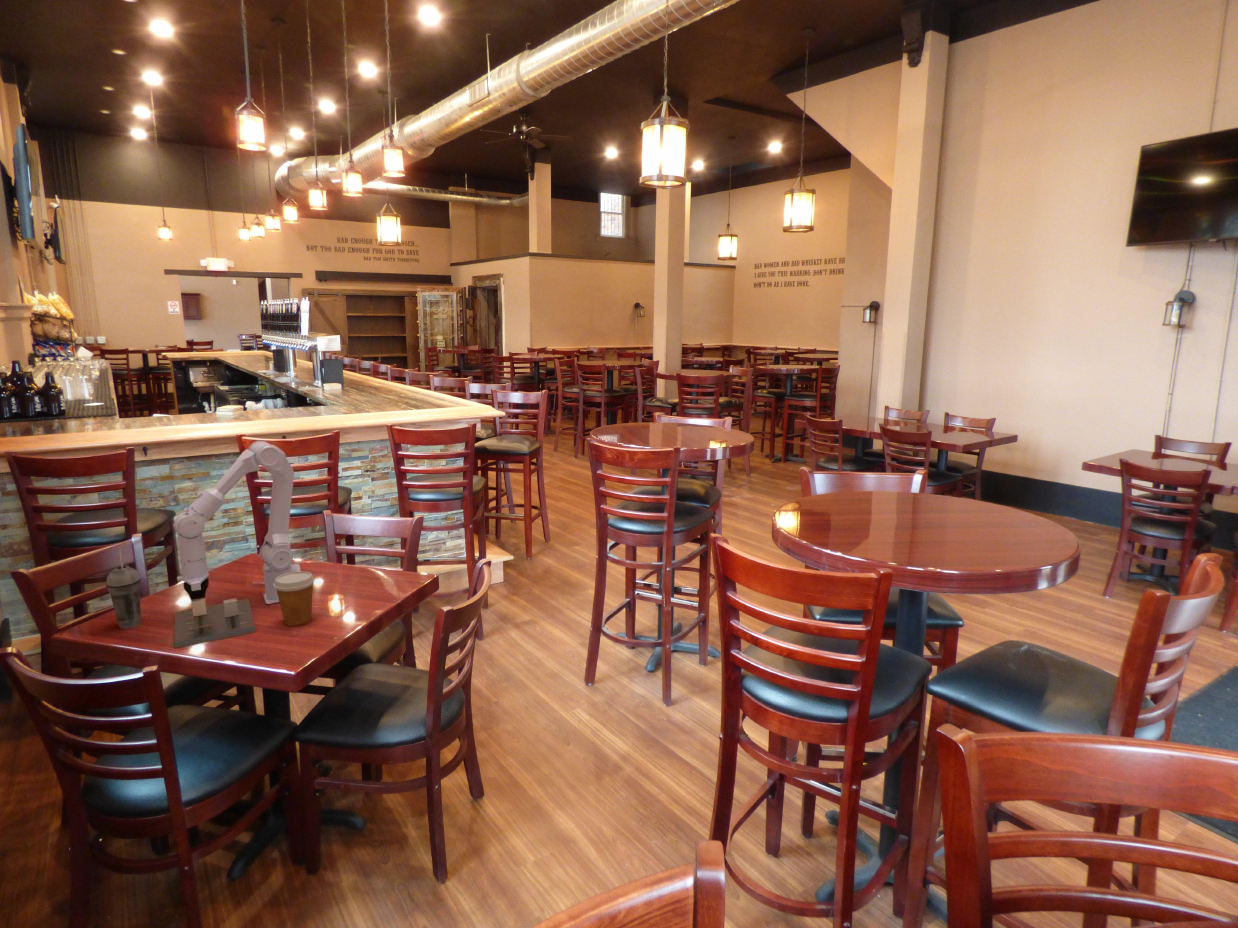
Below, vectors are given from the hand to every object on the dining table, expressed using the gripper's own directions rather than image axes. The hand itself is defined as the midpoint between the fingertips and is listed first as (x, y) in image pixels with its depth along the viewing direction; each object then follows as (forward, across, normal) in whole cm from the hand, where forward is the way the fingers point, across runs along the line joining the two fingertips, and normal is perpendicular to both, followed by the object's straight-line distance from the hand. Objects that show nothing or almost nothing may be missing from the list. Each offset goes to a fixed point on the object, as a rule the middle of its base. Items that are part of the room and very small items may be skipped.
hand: (199, 607), depth 184 cm
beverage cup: (+3, -3, -16) cm, 16 cm away
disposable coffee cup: (+3, +17, +22) cm, 27 cm away
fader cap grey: (+1, +8, +7) cm, 10 cm away
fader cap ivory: (+1, +3, 0) cm, 3 cm away
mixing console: (+2, +8, +3) cm, 9 cm away
